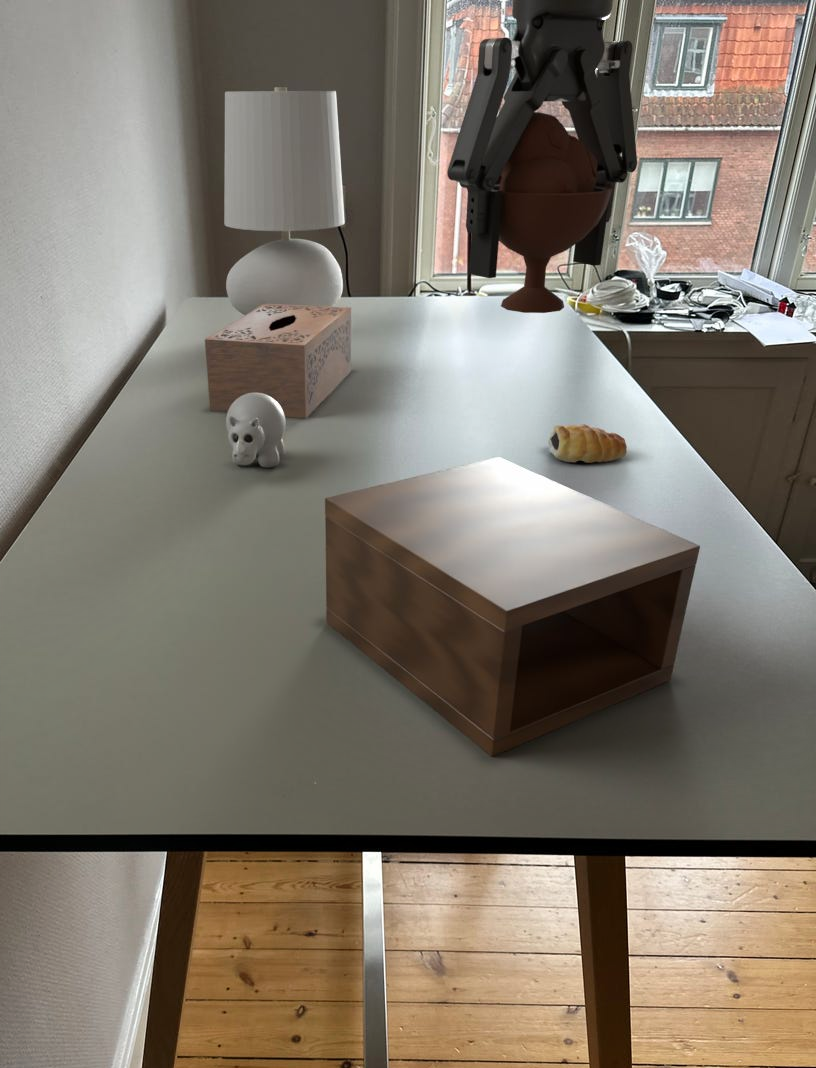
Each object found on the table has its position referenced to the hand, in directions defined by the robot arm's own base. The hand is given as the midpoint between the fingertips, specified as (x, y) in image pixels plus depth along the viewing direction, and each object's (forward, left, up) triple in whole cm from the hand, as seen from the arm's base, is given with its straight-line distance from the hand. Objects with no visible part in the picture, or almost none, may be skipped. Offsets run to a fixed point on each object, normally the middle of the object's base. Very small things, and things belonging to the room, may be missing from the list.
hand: (536, 269), depth 80 cm
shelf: (-15, +15, -26) cm, 34 cm away
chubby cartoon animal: (+33, +12, -26) cm, 44 cm away
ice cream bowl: (0, 0, -3) cm, 3 cm away
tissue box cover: (+61, -8, -26) cm, 67 cm away
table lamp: (+95, -27, -26) cm, 102 cm away
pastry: (+15, -25, -26) cm, 39 cm away
